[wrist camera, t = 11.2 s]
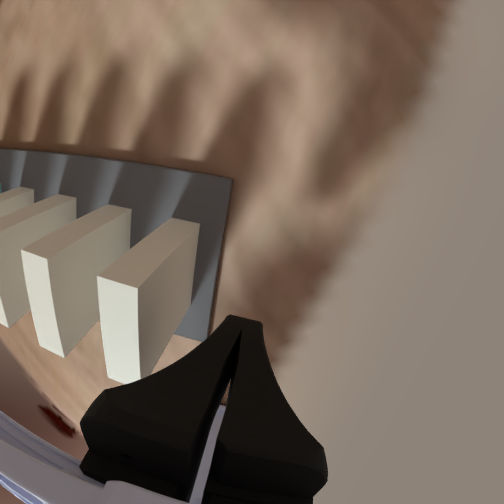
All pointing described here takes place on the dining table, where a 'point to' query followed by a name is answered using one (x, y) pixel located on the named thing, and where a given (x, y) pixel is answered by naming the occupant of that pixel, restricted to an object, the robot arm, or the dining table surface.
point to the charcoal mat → (136, 206)
